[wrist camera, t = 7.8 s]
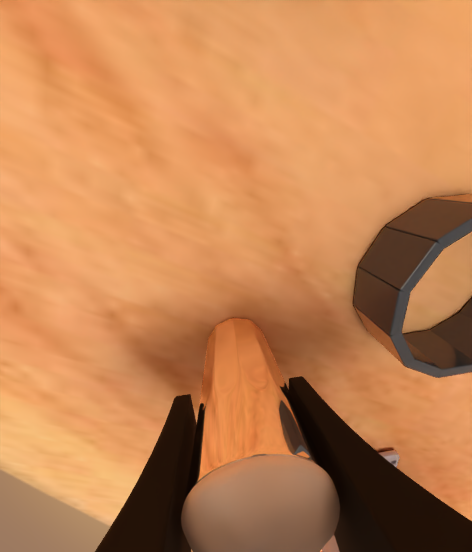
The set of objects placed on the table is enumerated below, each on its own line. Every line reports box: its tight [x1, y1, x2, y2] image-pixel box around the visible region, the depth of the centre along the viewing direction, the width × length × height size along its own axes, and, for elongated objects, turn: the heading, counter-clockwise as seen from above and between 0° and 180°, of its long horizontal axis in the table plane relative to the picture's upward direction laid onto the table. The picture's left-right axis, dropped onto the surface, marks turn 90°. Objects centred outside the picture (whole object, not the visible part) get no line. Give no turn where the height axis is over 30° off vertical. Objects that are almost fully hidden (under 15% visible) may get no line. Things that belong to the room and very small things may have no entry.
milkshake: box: [181, 318, 340, 552], centre depth 10 cm, size 4×5×10 cm
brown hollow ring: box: [353, 194, 472, 378], centre depth 13 cm, size 9×9×3 cm
